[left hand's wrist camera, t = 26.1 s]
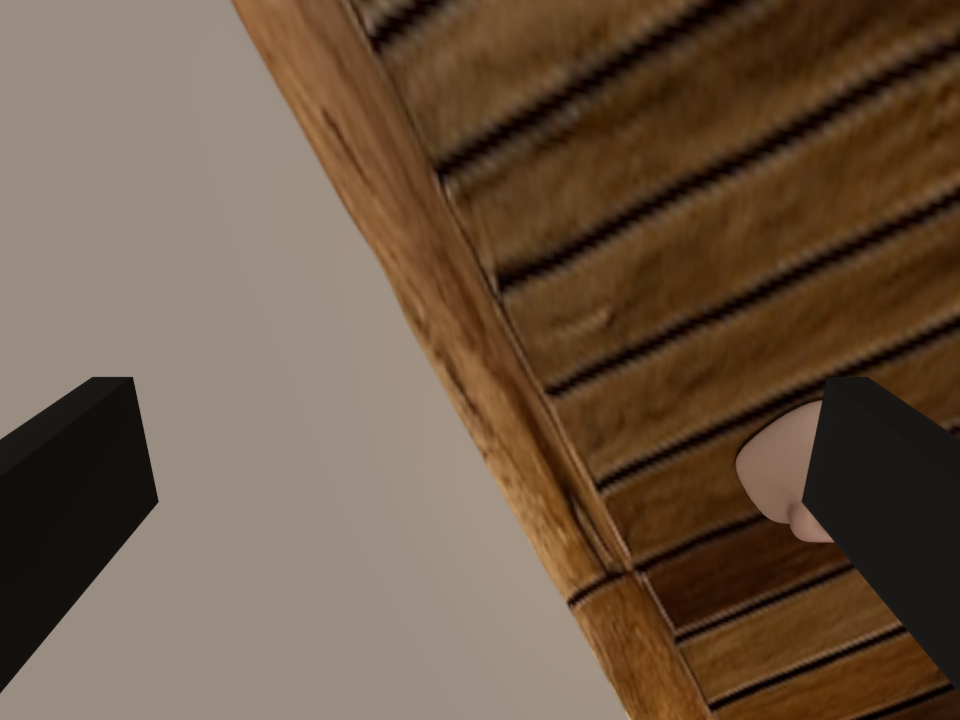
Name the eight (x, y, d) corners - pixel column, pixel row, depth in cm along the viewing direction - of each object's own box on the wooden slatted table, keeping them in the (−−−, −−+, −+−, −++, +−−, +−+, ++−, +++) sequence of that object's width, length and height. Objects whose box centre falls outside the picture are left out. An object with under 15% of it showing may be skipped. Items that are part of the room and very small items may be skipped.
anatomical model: (729, 514, 46) (842, 386, 42) (710, 484, 49) (812, 363, 46) (869, 593, 48) (987, 478, 44) (841, 559, 52) (948, 450, 48)
